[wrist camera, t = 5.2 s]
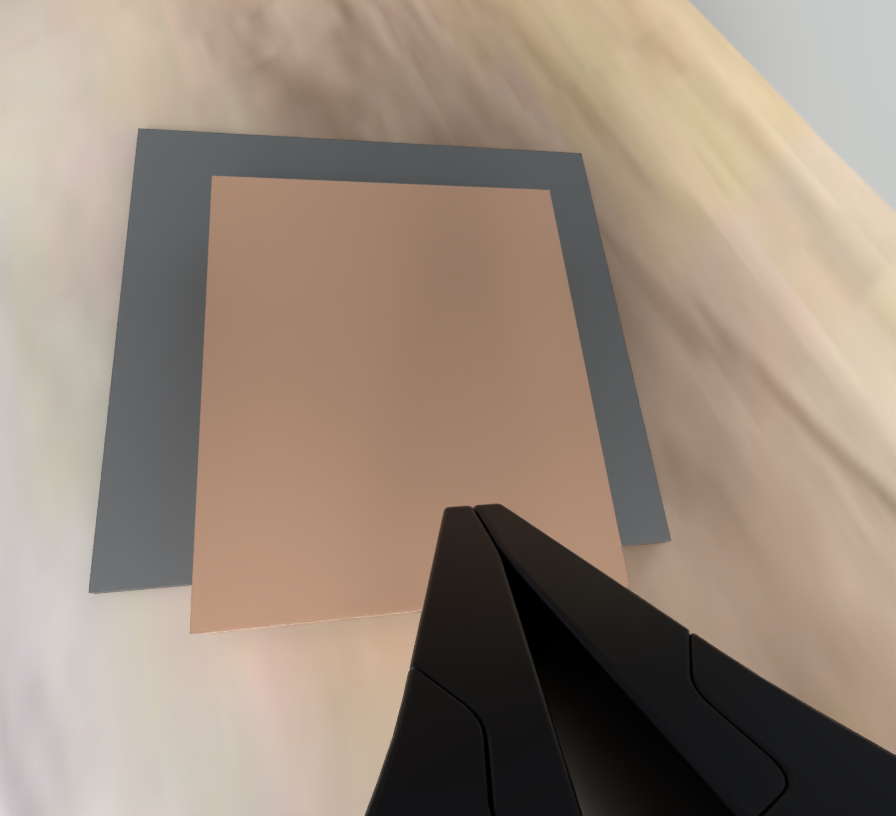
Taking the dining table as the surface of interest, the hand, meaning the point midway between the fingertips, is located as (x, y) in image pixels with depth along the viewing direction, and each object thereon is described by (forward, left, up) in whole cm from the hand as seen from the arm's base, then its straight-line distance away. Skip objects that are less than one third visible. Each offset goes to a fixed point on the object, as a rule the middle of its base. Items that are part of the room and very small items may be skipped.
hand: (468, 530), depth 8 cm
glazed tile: (-1, -1, -6) cm, 6 cm away
